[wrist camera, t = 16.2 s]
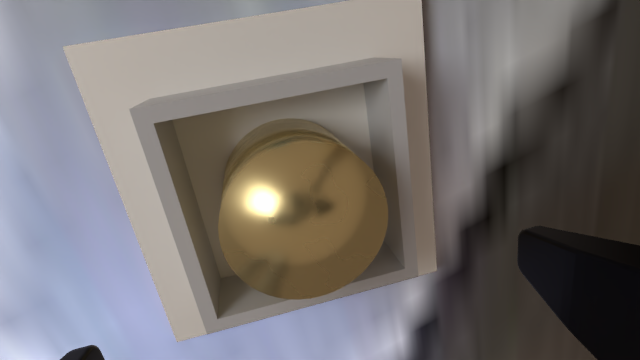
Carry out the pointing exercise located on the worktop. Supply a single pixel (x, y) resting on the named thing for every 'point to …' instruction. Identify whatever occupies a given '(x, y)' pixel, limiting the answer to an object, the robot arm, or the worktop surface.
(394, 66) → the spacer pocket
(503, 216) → the worktop surface
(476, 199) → the worktop surface
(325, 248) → the cylinder
